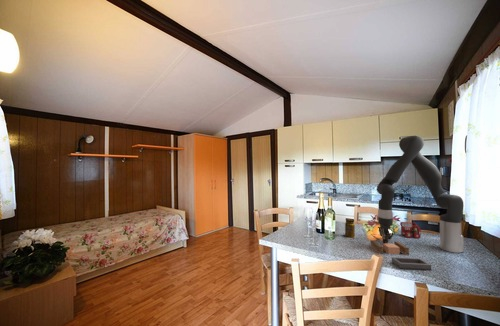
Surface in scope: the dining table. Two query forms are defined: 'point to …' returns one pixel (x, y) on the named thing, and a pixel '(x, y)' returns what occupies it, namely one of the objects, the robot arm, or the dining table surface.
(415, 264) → the tray
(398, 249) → the block
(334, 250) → the dining table surface
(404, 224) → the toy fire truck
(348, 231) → the condiment
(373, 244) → the channel
